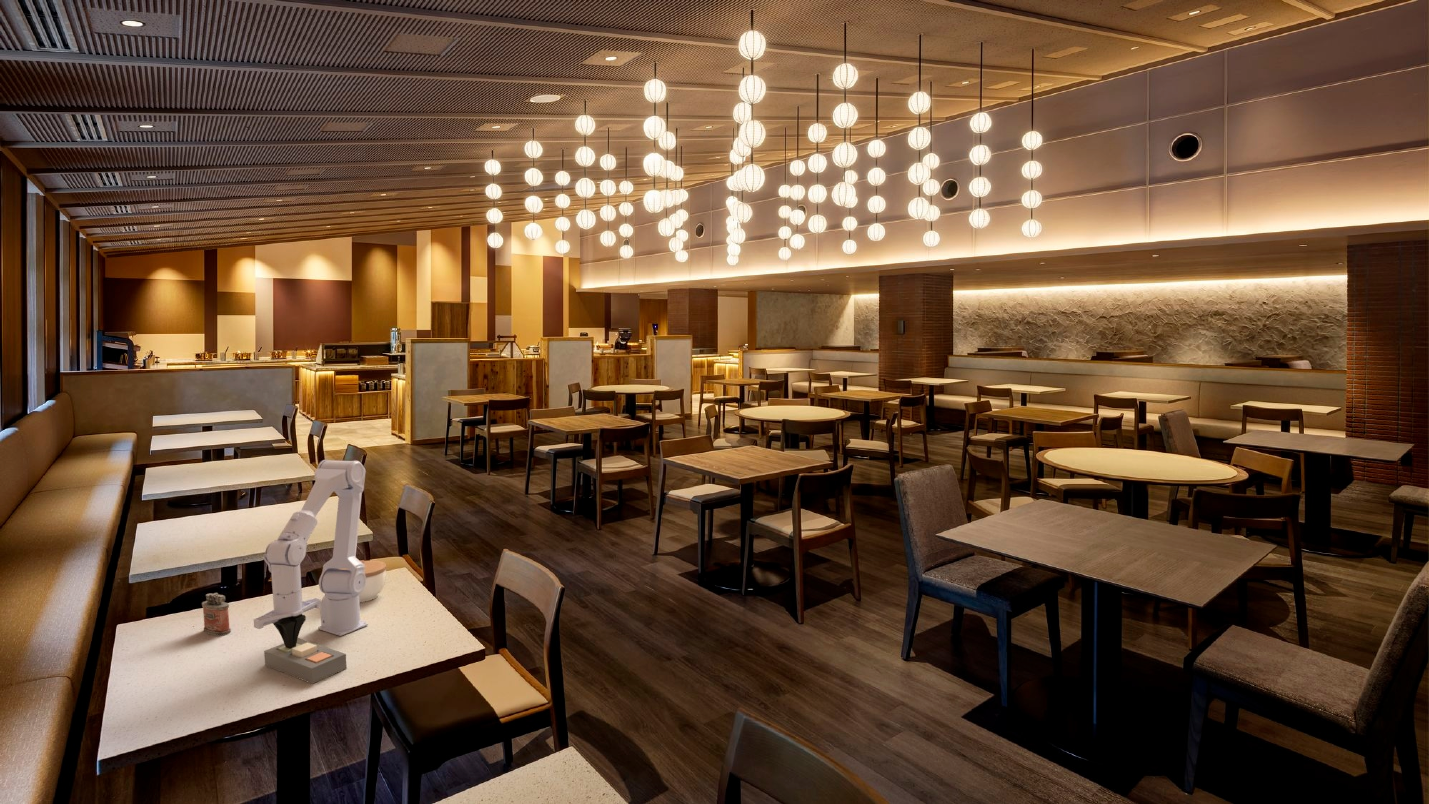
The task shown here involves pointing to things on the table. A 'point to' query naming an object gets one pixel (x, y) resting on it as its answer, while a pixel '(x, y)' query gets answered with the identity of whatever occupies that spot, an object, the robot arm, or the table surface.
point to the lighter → (216, 615)
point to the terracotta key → (319, 657)
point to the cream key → (304, 650)
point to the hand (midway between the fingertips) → (290, 647)
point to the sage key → (286, 649)
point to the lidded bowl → (372, 579)
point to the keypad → (305, 663)
